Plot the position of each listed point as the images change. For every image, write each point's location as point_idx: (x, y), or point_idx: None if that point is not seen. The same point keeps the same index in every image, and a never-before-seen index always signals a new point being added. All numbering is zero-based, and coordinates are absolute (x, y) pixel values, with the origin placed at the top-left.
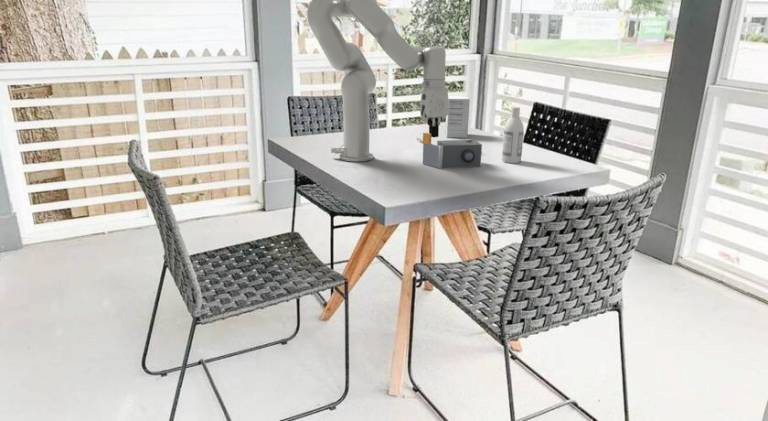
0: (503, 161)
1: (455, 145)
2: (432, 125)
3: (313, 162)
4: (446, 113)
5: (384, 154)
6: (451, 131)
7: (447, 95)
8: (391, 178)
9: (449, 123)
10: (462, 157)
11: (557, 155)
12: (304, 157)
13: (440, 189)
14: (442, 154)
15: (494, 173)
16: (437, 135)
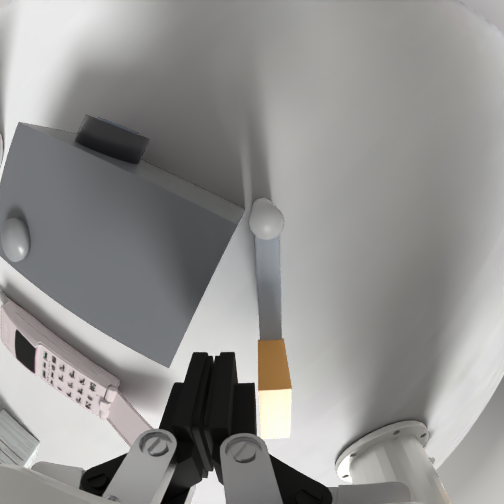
0: (1, 161)
1: (144, 179)
2: (264, 447)
3: (463, 434)
4: (9, 487)
5: (289, 459)
6: (25, 444)
7: None
8: (491, 217)
9: (21, 459)
10: (144, 148)
11: None
12: (438, 465)
13: (437, 26)
14: (259, 202)
15: (125, 34)
16: (204, 357)
